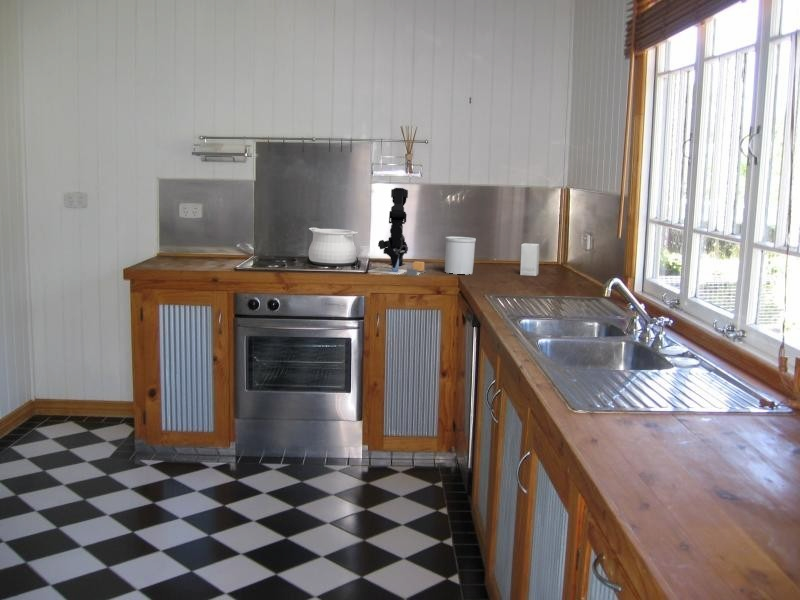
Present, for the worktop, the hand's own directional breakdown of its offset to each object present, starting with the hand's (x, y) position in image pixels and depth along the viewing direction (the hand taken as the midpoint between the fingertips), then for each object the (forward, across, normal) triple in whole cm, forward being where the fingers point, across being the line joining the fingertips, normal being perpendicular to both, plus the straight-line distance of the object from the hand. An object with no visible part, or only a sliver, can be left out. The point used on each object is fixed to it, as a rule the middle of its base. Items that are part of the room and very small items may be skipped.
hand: (395, 267), depth 427 cm
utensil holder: (+3, -19, +27) cm, 33 cm away
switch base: (+3, -4, +10) cm, 11 cm away
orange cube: (+1, -7, +10) cm, 12 cm away
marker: (+2, 0, 0) cm, 2 cm away
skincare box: (+3, -34, +59) cm, 68 cm away
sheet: (+3, -3, -4) cm, 6 cm away
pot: (+3, -12, -38) cm, 40 cm away
